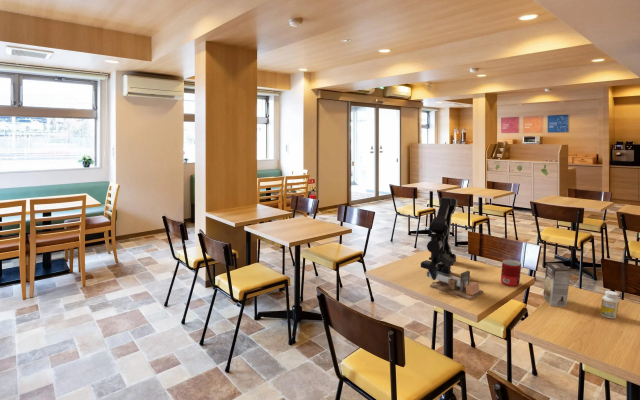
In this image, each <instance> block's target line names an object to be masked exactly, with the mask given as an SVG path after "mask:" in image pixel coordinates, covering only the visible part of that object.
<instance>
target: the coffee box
mask: <svg viewBox="0 0 640 400" xmlns="http://www.w3.org/2000/svg"><path fill="white" fill-rule="evenodd" d="M545 266H546V267H545V277H544V283H543V284H544V287H543V295H542V296H543V299H544V300H545V301H546V302H547V303H548V304H549V306H551V307H567V305H568V304H567V303H568V297H569V296H568V295H569V287H570V280H571V279H570V278H571V273H572V272H571V269H570V268H568V267H567V266H566V265H565V264H564V263H561V262H560V263H559V262H546V265H545Z"/></svg>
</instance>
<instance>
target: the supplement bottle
mask: <svg viewBox="0 0 640 400" xmlns="http://www.w3.org/2000/svg"><path fill="white" fill-rule="evenodd" d="M618 297H619V293H618V292H615V291H612V290H605V292H604V295H603V296H602V299H601V304H600V305H601V306H600V315H601V316H602V317H605V318H608V319H616V318H617V317H618V312H619V307H620V306H619V304H620V299H618Z"/></svg>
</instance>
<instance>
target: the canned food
mask: <svg viewBox="0 0 640 400" xmlns="http://www.w3.org/2000/svg"><path fill="white" fill-rule="evenodd" d="M501 263H502V264H501V275H500V283H501V284H502V285H503V286H506V287H510V288H516V287H519V286H520V280H521V269H522V263H521V261H518V260H514V259H503V260H502V262H501Z"/></svg>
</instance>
